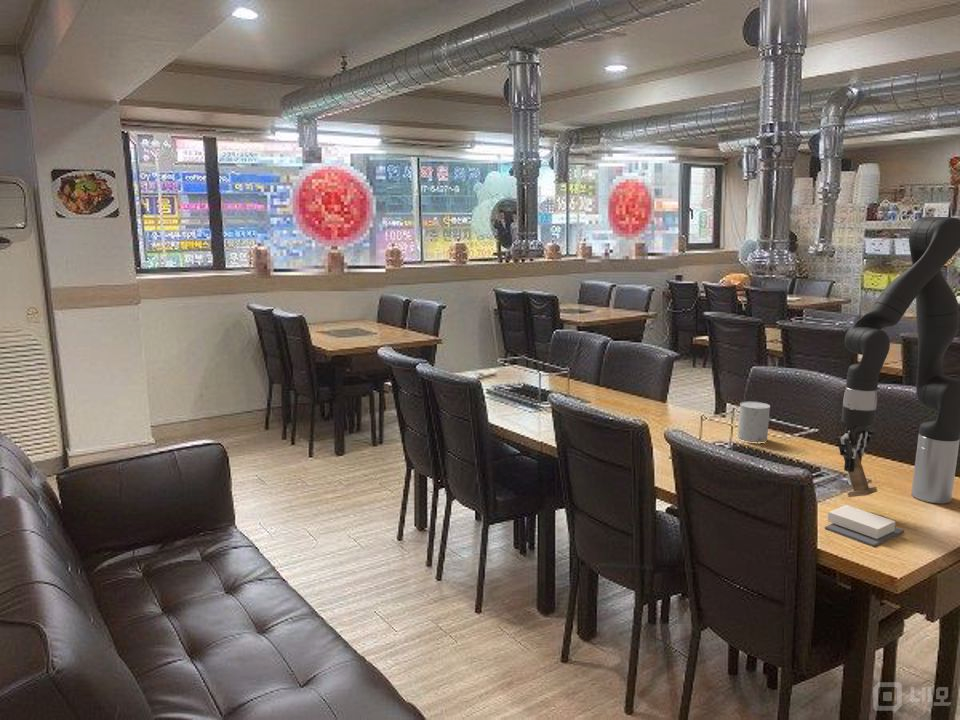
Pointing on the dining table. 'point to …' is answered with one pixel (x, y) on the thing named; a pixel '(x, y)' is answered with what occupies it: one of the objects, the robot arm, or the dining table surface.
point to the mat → (863, 537)
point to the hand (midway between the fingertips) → (852, 469)
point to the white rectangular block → (861, 521)
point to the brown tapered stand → (859, 480)
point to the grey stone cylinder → (753, 421)
